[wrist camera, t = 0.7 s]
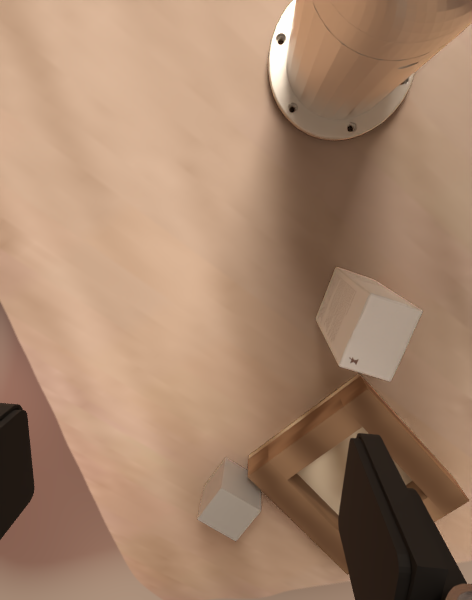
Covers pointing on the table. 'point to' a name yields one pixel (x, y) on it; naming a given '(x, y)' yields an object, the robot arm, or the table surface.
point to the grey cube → (229, 500)
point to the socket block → (343, 463)
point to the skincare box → (366, 324)
